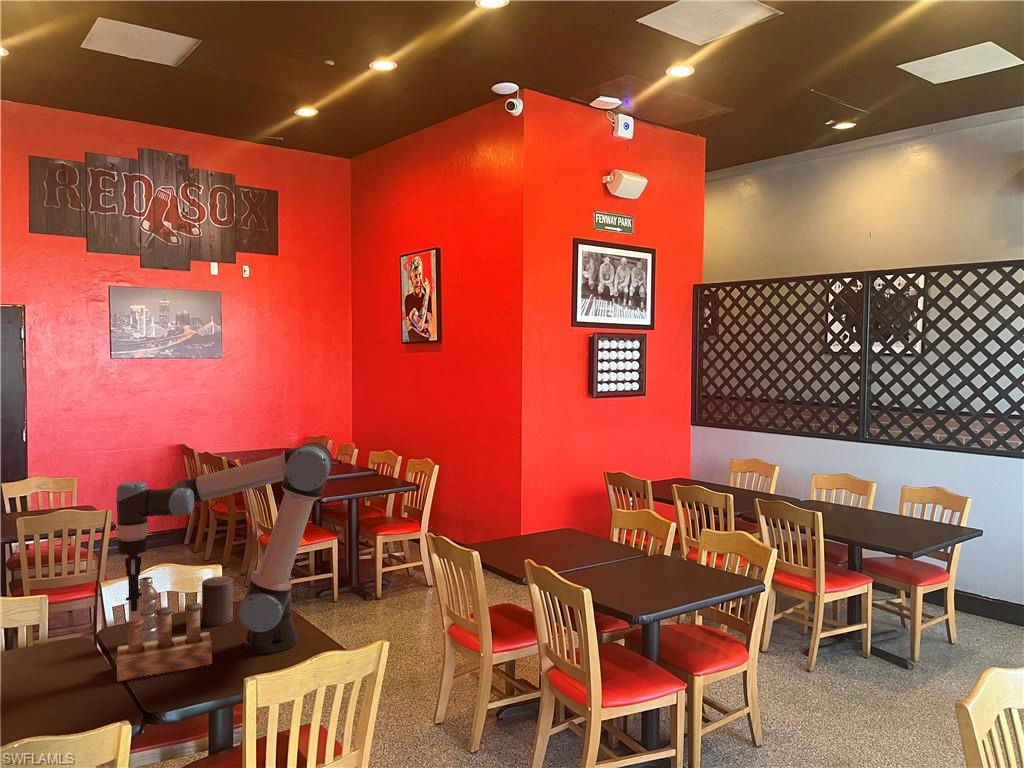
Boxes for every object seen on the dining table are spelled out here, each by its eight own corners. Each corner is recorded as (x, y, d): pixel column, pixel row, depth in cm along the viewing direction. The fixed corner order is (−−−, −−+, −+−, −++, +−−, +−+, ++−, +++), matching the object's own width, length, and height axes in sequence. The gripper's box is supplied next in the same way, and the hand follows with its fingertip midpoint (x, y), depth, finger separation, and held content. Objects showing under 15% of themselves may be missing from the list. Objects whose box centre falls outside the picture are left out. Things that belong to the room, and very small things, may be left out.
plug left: (205, 639, 212) (204, 603, 212) (195, 645, 208) (194, 608, 208) (192, 638, 213) (191, 602, 213) (182, 644, 209) (181, 607, 209)
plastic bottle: (134, 648, 220) (133, 583, 219) (136, 640, 226) (134, 577, 225) (158, 645, 222) (156, 580, 221) (159, 637, 229) (157, 574, 228)
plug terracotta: (148, 657, 206) (147, 619, 205) (136, 663, 201) (135, 625, 201) (134, 655, 207) (133, 618, 206) (123, 662, 202) (122, 624, 202)
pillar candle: (197, 626, 237) (196, 581, 237) (209, 615, 247) (208, 572, 246) (226, 626, 237) (226, 581, 237) (237, 615, 247) (237, 572, 246)
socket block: (209, 651, 217) (209, 631, 217) (212, 664, 209) (211, 643, 208) (118, 667, 207) (117, 646, 206) (117, 681, 198) (116, 659, 197)
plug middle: (176, 644, 209) (176, 607, 209) (166, 650, 205) (165, 613, 204) (163, 643, 210) (162, 606, 210) (153, 649, 206) (152, 611, 205)
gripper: (118, 534, 207) (120, 615, 208) (116, 545, 195) (118, 631, 196) (147, 531, 210) (149, 611, 211) (147, 541, 198) (149, 626, 199)
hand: (134, 621), depth 204 cm, fingers closed
